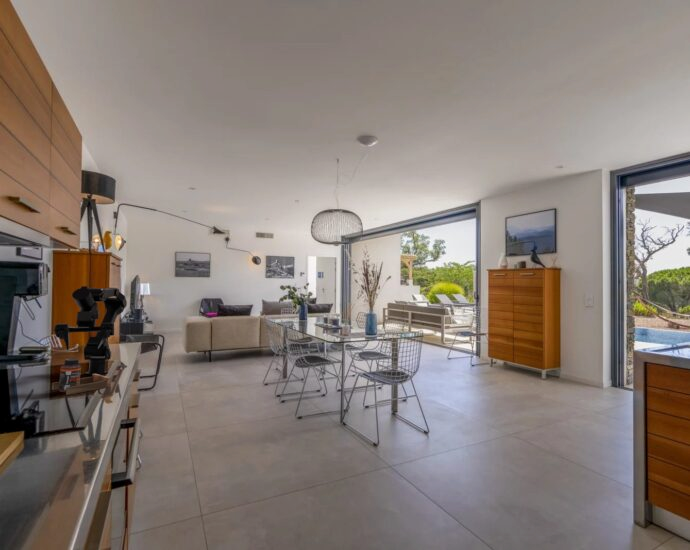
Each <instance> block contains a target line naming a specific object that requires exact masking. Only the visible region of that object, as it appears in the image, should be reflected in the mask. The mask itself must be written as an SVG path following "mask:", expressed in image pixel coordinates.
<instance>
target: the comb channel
mask: <svg viewBox="0 0 690 550" xmlns="http://www.w3.org/2000/svg"><path fill="white" fill-rule="evenodd" d="M51 385H52V386H51V391H57V390H58V391H59V381H58V382H57V381H56V382H52V384H51ZM110 387H111V377H109V376H106V375H104V374H92V375H91V376H87V377H82V378H81V377H80V384H79V385H78V386H72V387H66V393H65V396H70V395H75V394H81V393H85V392H90V391H95V390H101V388H102V389H105V388H106V389H107V388H110Z"/></svg>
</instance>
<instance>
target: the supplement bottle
mask: <svg viewBox="0 0 690 550" xmlns="http://www.w3.org/2000/svg"><path fill="white" fill-rule="evenodd" d="M79 360H80V359H79V358H65V359H64V364H63V365H61V366H60V370H59V372H60V373H59V381H58V382H59V389H58V392H59V393H65V394H66V387H72V386H78V385H79V384H80V378H81V374H82V373H81V372H82V364H81V365H80V363H79Z"/></svg>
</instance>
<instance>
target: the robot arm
mask: <svg viewBox="0 0 690 550" xmlns="http://www.w3.org/2000/svg"><path fill="white" fill-rule="evenodd" d="M71 295H72V296H71V297H72V299H73V300H74V302H75V304H76V305H77V307H78V308H80V309H79V311H77V312H76V322H75V323H76V326H69V323H56V324H55V325H54V329H53V331H54V334H55V337H56V338H59V339H60V340H63V341H64V343H65V347H66V348H65V349H66V351H69V350H70V335H71V334H70V333H96V334H95V336H90V337H89V338H88V340H87V343H86V345H85V346H84V348H83V357H84V361H87V360H89V362H88V364H89V366H88V371H85V372H84V374H86V375H89V376H92V374H99V375H104V374H108V373H109V371H106V361H108V360H111V357H112V351H111V349H110V344H109V341H108V340H109V338H111V336H114V335H115V330H116V329H115V322H116V320H117V317H118V316H119V315H120V314H122V313H123V312H124V310H125V309H126V308H127V305H128V301H127V298H126V296H125V295H124V294H123V293H121V291H120V289H119V288H117V287H105V288H98V287H88V286H87V285H82V286H81V287H80V288H77V289H75V290H74V291H72V294H71ZM98 303H103V304H104V308H105V310H106V311H105V314H104V316H103V318H102V321H101V323H100V325H99V326H96V324H97V320H99V319H100V309H99V308H98V307H99V304H98Z"/></svg>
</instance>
